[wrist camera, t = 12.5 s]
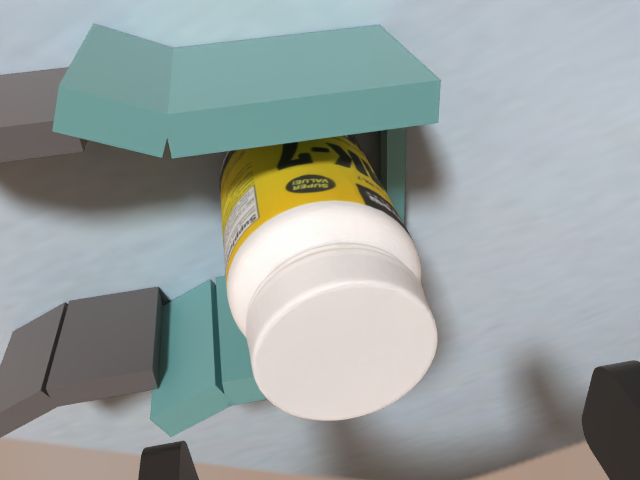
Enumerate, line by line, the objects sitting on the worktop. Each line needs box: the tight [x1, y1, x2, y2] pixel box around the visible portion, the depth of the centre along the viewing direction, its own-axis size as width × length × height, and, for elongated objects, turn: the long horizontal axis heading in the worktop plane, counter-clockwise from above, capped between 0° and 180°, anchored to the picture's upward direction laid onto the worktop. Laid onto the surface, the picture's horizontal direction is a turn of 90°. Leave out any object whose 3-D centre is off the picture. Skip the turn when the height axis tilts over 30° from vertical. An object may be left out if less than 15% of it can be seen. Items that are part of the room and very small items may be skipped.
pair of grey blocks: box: [0, 67, 163, 438], centre depth 17 cm, size 5×10×4 cm, turn 4°
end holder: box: [52, 24, 441, 437], centre depth 17 cm, size 9×11×5 cm
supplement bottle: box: [220, 135, 438, 421], centre depth 16 cm, size 5×5×8 cm
